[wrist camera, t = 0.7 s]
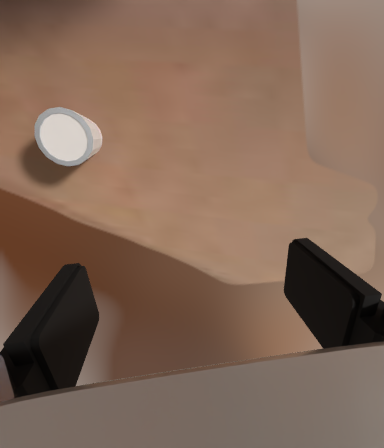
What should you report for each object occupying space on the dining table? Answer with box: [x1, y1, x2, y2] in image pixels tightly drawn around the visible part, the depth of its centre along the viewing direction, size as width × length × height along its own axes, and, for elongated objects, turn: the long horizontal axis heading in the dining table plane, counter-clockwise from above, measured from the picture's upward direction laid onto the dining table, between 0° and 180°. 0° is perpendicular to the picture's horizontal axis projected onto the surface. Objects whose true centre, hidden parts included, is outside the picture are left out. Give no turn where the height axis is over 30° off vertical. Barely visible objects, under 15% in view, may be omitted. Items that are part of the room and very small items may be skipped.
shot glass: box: [35, 107, 102, 166], centre depth 31 cm, size 7×7×7 cm
